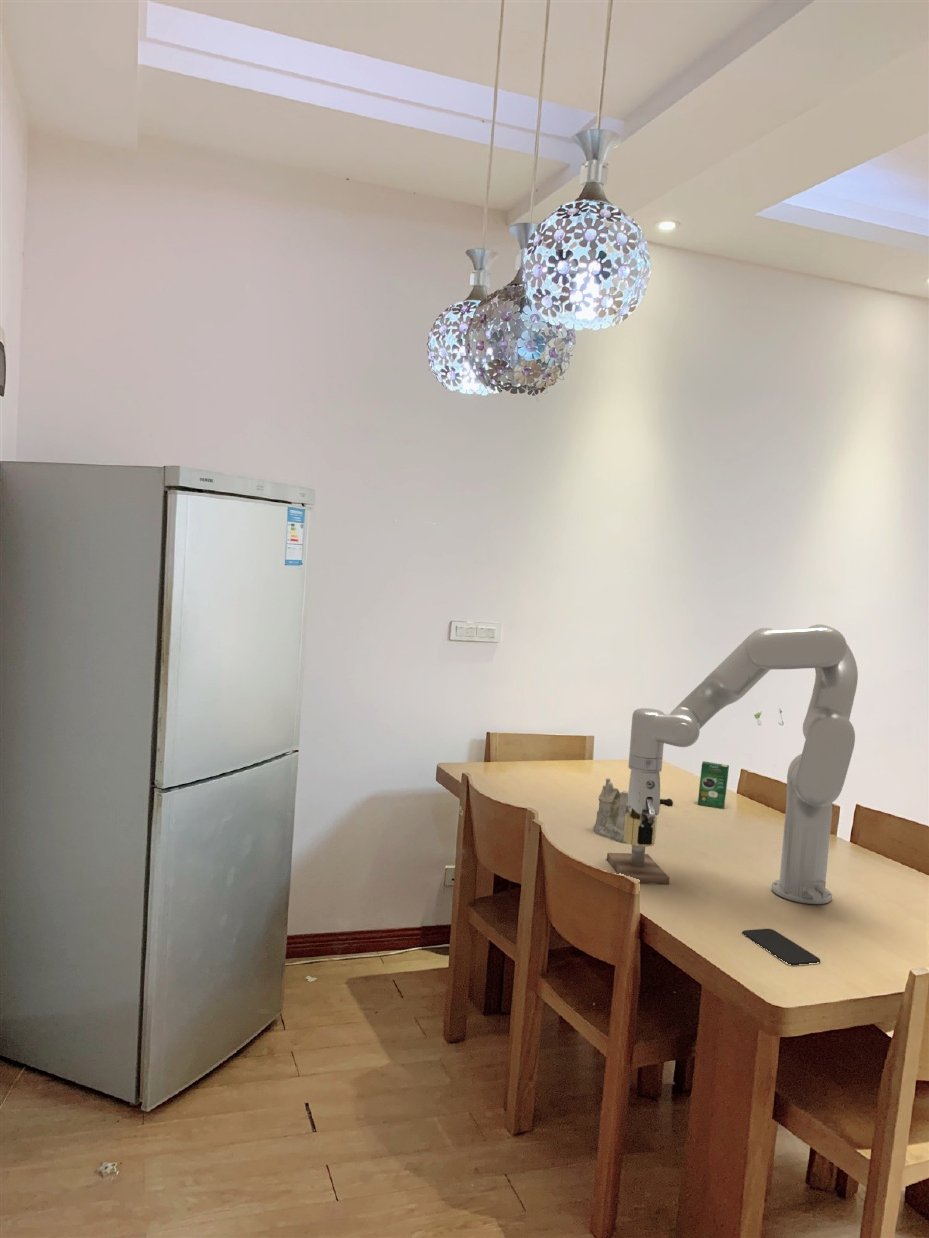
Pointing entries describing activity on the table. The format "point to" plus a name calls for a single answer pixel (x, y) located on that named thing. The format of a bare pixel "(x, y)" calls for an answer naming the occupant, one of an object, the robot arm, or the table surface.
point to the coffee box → (713, 784)
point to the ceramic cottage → (612, 813)
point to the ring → (636, 829)
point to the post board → (638, 866)
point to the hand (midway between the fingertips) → (639, 838)
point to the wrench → (664, 801)
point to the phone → (781, 946)
